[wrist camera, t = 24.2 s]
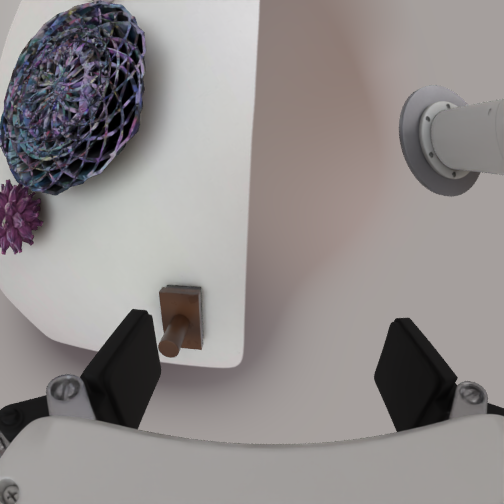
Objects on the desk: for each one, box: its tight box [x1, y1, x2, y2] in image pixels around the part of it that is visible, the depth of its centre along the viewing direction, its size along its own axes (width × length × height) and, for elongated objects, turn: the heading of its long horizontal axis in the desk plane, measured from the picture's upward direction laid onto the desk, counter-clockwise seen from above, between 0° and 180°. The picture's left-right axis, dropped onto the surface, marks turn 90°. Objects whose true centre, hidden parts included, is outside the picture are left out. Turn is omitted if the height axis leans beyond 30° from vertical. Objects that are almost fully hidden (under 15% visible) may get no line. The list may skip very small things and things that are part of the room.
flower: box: [0, 179, 43, 255], centre depth 31 cm, size 12×12×12 cm
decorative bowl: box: [0, 0, 146, 195], centre depth 27 cm, size 26×28×10 cm
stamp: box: [158, 285, 203, 357], centre depth 36 cm, size 9×6×10 cm, turn 178°
